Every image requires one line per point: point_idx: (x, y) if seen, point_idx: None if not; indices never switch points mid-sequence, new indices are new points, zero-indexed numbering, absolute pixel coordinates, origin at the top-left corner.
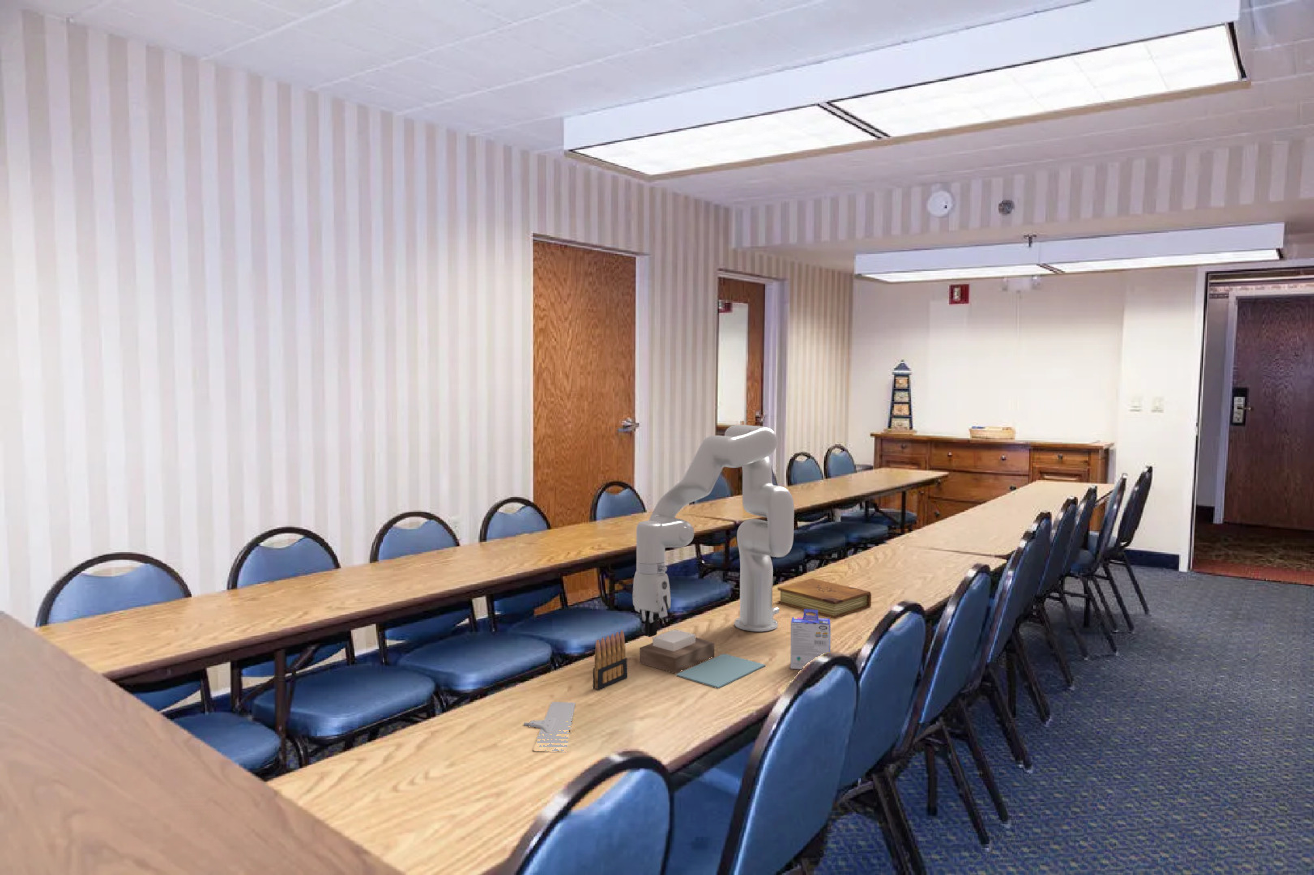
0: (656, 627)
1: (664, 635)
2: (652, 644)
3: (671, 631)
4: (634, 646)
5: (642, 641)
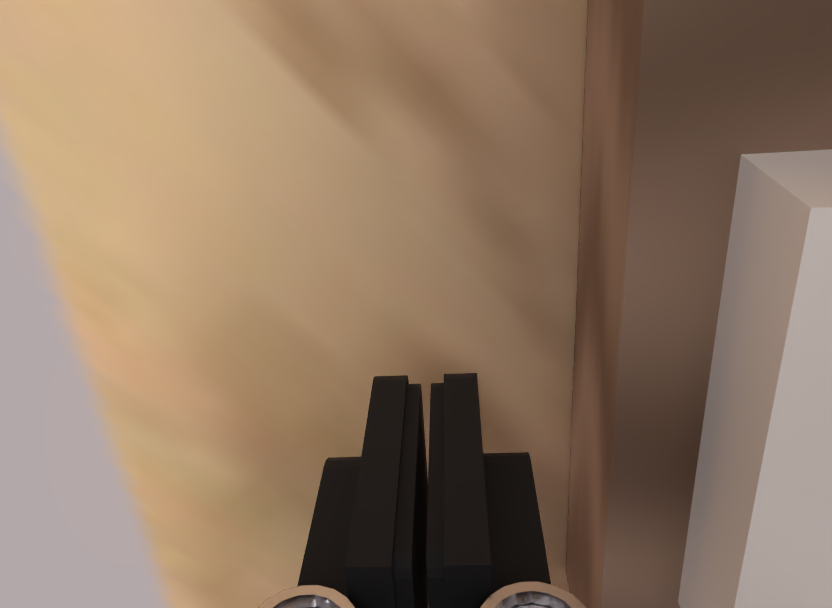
0: (538, 521)
1: (829, 573)
2: (644, 577)
3: (823, 357)
4: (129, 291)
5: (11, 81)
